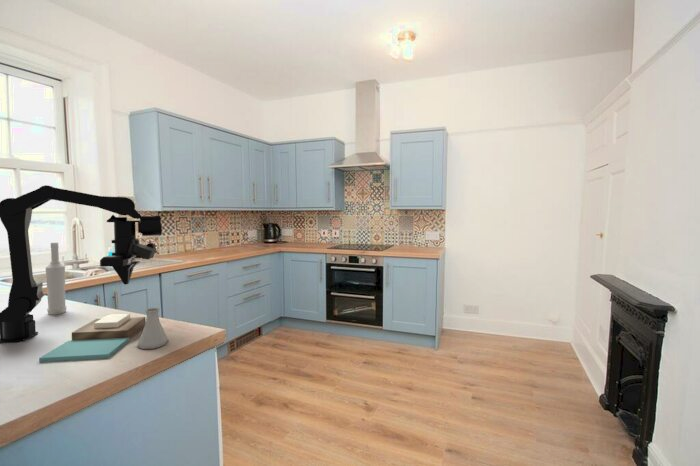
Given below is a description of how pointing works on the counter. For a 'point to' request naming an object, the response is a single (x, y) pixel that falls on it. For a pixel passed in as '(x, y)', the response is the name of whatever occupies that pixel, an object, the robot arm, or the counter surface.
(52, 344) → the counter surface
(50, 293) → the bottle
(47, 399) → the counter surface
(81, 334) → the walnut deck
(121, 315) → the cream tile
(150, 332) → the flask
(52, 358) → the teal mat
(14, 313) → the robot arm
